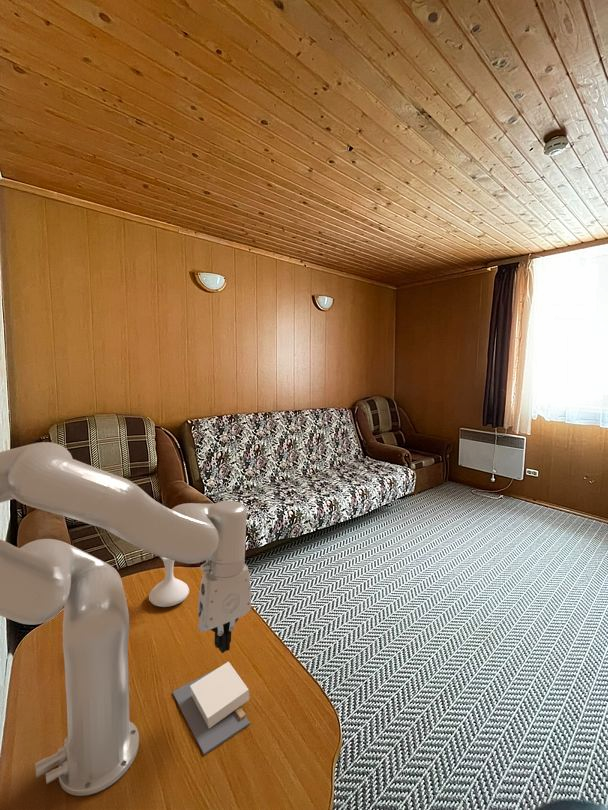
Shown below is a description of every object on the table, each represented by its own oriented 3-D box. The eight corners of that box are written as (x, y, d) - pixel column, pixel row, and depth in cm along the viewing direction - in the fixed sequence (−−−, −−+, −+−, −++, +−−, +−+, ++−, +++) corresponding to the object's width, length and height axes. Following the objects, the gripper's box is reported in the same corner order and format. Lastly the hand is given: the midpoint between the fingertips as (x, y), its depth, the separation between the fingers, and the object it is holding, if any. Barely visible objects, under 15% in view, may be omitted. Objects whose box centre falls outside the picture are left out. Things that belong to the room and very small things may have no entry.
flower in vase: (145, 613, 104) (144, 528, 101) (151, 589, 115) (151, 512, 112) (194, 607, 107) (194, 525, 105) (195, 584, 118) (195, 509, 116)
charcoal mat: (204, 755, 67) (204, 750, 67) (172, 693, 79) (172, 689, 79) (249, 724, 73) (250, 719, 73) (214, 671, 85) (214, 667, 85)
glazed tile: (249, 700, 77) (209, 729, 71) (229, 671, 84) (191, 696, 78) (248, 689, 76) (207, 718, 71) (228, 661, 83) (189, 685, 78)
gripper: (198, 583, 67) (195, 677, 69) (266, 561, 77) (262, 643, 79) (182, 565, 73) (180, 652, 75) (248, 546, 83) (244, 623, 84)
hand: (222, 647), depth 77 cm, fingers closed
